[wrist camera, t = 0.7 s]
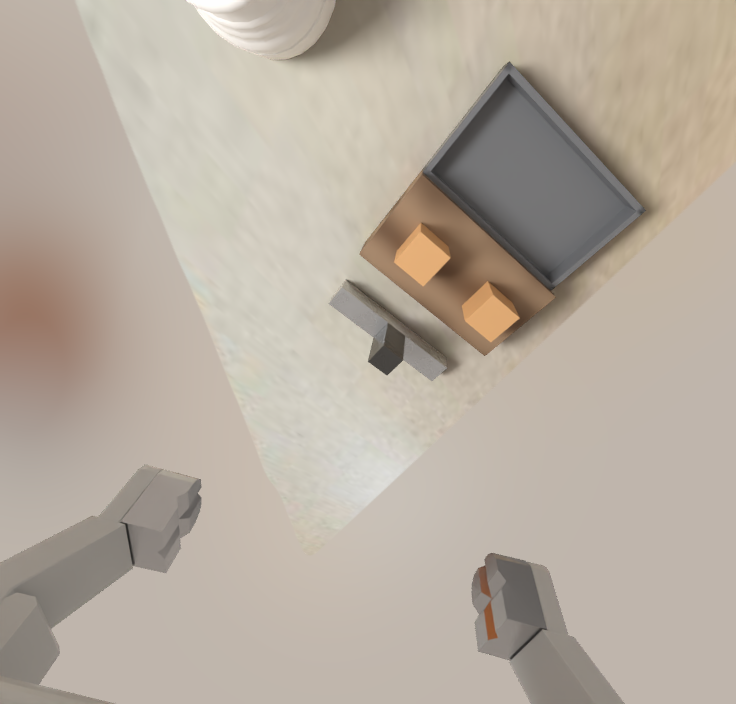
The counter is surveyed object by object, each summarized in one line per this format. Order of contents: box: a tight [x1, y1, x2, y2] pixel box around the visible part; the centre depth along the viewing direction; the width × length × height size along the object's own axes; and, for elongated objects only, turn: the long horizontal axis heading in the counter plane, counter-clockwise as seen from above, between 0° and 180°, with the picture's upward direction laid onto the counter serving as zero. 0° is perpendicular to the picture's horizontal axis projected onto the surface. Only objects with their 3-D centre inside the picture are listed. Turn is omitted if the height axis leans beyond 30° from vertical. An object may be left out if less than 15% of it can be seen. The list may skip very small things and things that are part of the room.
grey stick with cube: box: [329, 280, 447, 381], centre depth 49 cm, size 3×18×9 cm, turn 52°
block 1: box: [394, 223, 451, 286], centre depth 40 cm, size 4×4×4 cm
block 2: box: [462, 281, 520, 342], centre depth 42 cm, size 4×4×4 cm
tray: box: [422, 62, 646, 290], centre depth 40 cm, size 12×20×3 cm, turn 52°
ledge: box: [359, 169, 556, 356], centre depth 44 cm, size 10×20×5 cm, turn 52°
